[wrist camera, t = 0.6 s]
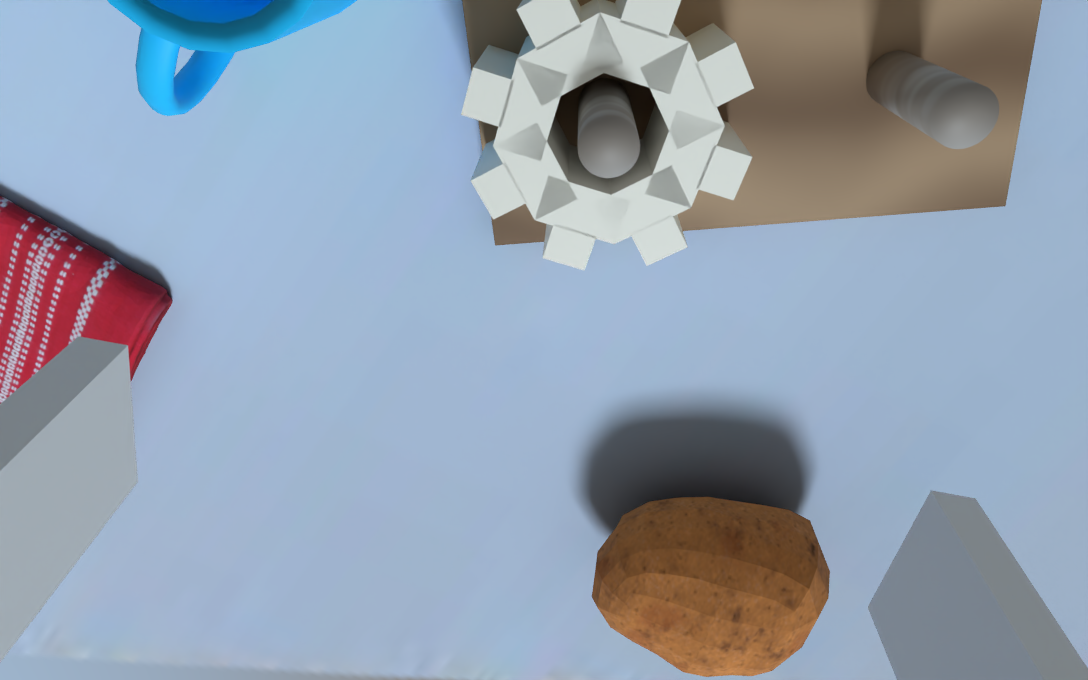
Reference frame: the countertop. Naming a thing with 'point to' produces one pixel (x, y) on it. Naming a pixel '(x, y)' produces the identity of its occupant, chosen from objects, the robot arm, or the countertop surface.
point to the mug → (207, 40)
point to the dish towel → (65, 297)
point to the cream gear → (665, 150)
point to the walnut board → (821, 106)
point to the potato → (713, 583)
